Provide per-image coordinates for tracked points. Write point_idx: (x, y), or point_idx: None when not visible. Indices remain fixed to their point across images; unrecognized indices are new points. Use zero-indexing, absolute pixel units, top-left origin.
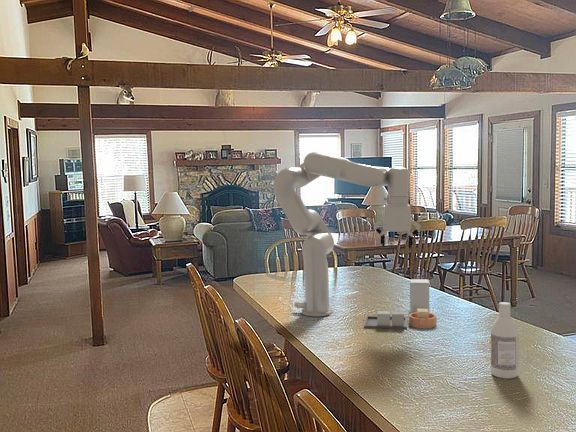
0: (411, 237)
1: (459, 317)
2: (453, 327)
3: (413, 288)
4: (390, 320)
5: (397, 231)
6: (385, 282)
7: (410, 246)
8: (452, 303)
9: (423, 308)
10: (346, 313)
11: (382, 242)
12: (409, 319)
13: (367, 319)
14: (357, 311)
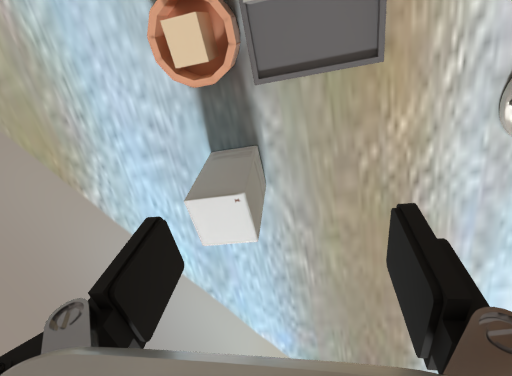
0: (98, 303)
1: (138, 146)
2: (117, 42)
3: (237, 182)
4: (301, 52)
5: (207, 355)
6: (348, 358)
7: (144, 221)
8: (188, 248)
9: (221, 156)
10: (449, 111)
11: (429, 228)
12: (231, 14)
13: (378, 22)
14: (411, 141)
